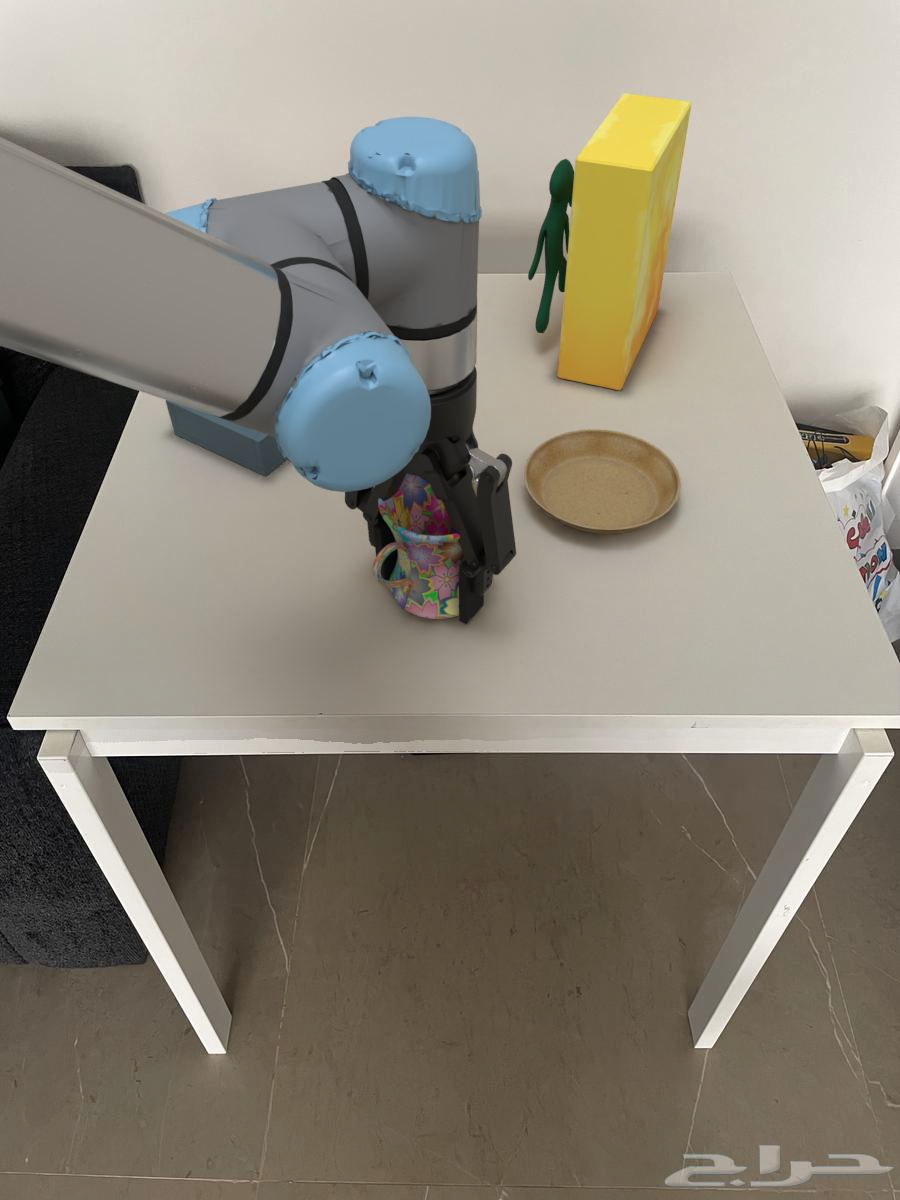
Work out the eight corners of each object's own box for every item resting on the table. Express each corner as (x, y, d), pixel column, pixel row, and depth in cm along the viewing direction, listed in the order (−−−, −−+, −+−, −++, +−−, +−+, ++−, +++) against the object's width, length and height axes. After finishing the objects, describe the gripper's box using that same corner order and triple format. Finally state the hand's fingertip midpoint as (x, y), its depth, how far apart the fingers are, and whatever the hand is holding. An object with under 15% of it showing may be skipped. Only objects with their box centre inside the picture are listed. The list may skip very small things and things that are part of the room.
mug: (433, 538, 88) (431, 446, 80) (512, 585, 84) (518, 493, 76) (341, 611, 81) (329, 519, 74) (421, 665, 77) (417, 575, 70)
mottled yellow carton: (558, 294, 117) (575, 86, 100) (657, 312, 114) (692, 100, 97) (513, 369, 106) (522, 150, 89) (620, 391, 103) (652, 168, 86)
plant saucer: (634, 437, 98) (638, 416, 96) (704, 528, 88) (709, 507, 86) (500, 467, 95) (501, 446, 93) (558, 565, 85) (560, 544, 83)
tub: (174, 434, 99) (165, 400, 96) (272, 363, 108) (267, 330, 104) (265, 476, 94) (258, 442, 91) (360, 399, 103) (357, 365, 100)
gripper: (580, 387, 63) (555, 614, 80) (338, 300, 71) (361, 524, 88) (523, 445, 59) (509, 672, 76) (272, 346, 67) (310, 572, 84)
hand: (430, 592), depth 82 cm, fingers closed on mug, 8 cm apart
